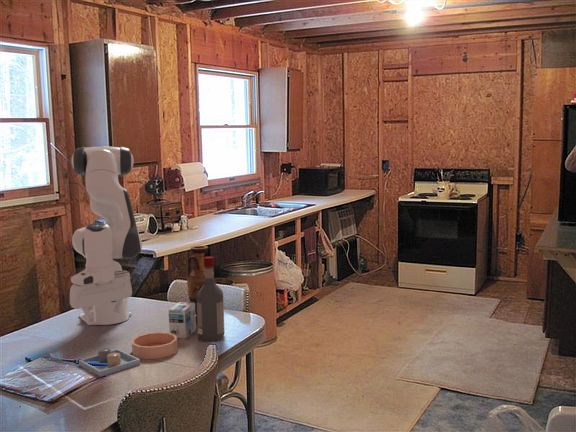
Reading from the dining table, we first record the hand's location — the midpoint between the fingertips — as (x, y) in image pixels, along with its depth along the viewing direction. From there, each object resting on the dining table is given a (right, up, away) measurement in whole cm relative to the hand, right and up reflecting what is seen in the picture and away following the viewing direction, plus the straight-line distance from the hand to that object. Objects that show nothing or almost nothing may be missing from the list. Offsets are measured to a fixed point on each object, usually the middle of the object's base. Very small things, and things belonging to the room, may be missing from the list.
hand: (103, 316), depth 194 cm
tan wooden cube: (+4, -16, -2) cm, 16 cm away
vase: (+25, -10, +46) cm, 53 cm away
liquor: (+32, -12, +25) cm, 42 cm away
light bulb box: (+20, -12, +31) cm, 39 cm away
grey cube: (0, -15, +2) cm, 15 cm away
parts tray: (+2, -16, 0) cm, 16 cm away
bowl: (+14, -14, +12) cm, 23 cm away
